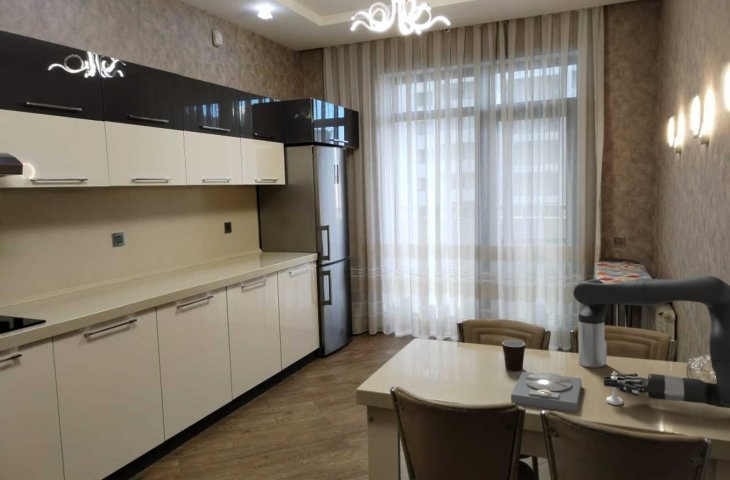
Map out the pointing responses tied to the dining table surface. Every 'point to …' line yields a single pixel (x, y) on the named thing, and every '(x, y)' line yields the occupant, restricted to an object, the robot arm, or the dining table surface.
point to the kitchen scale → (547, 391)
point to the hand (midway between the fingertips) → (604, 380)
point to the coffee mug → (513, 354)
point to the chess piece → (614, 393)
